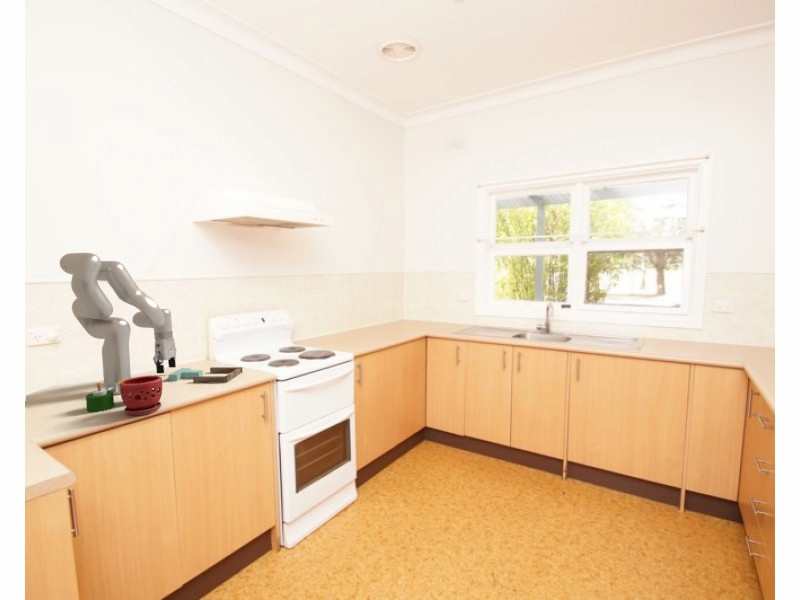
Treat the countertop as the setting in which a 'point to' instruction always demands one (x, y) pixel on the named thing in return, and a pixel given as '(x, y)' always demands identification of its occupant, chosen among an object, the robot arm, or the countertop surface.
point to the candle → (99, 400)
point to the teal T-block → (184, 374)
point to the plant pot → (141, 394)
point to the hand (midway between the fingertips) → (166, 370)
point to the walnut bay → (232, 370)
